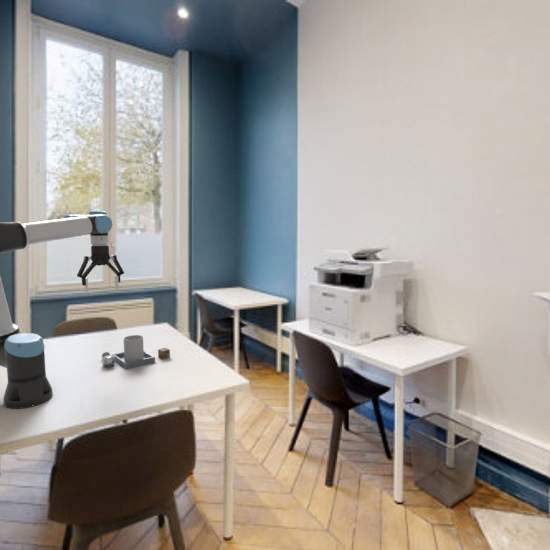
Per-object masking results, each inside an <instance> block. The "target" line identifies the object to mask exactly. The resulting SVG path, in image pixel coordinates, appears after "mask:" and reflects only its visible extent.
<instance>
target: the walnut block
mask: <svg viewBox="0 0 550 550" xmlns="http://www.w3.org/2000/svg"><path fill="white" fill-rule="evenodd" d="M157 357H158V358H159V359H161V360H165V359H169V358H171V351H170V349H169V348H168V347H163V348H158V349H157Z"/></svg>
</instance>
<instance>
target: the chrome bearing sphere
mask: <svg viewBox="0 0 550 550" xmlns="http://www.w3.org/2000/svg"><path fill="white" fill-rule="evenodd" d="M101 360H102V367H103V368H105V369H106V368H107V369H108V368H113V367H115V361H114V356H112V354H110V355H108V356H104V357H102V356H101Z"/></svg>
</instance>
